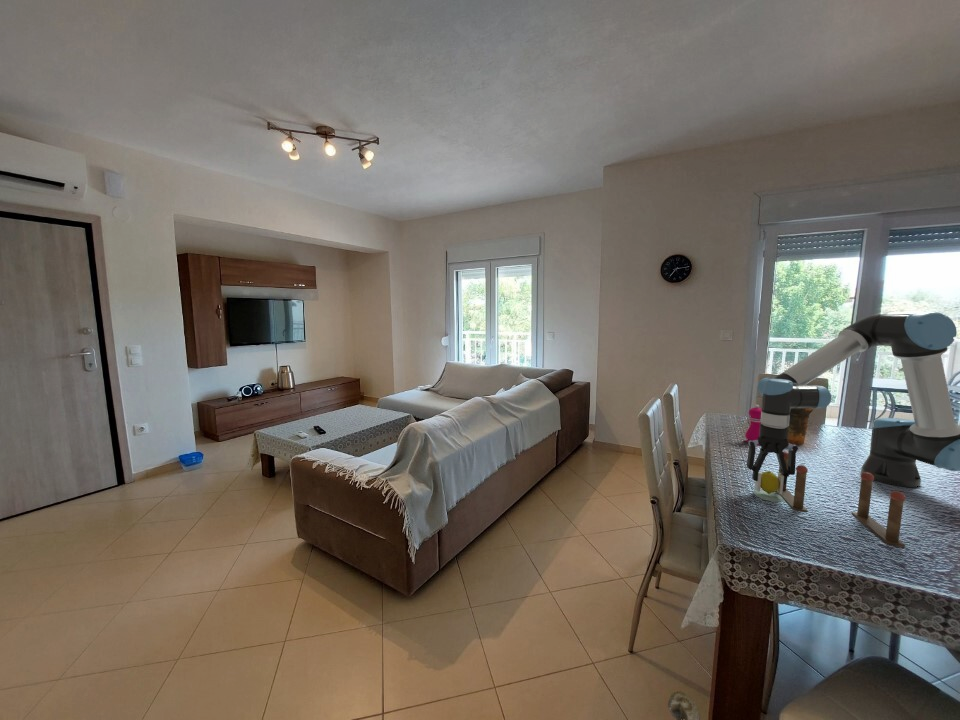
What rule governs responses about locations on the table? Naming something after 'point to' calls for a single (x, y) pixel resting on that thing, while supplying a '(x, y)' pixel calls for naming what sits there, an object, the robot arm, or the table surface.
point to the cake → (683, 707)
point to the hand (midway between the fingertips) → (768, 491)
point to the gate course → (862, 515)
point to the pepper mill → (754, 424)
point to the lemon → (769, 482)
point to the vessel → (798, 425)
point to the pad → (768, 496)
